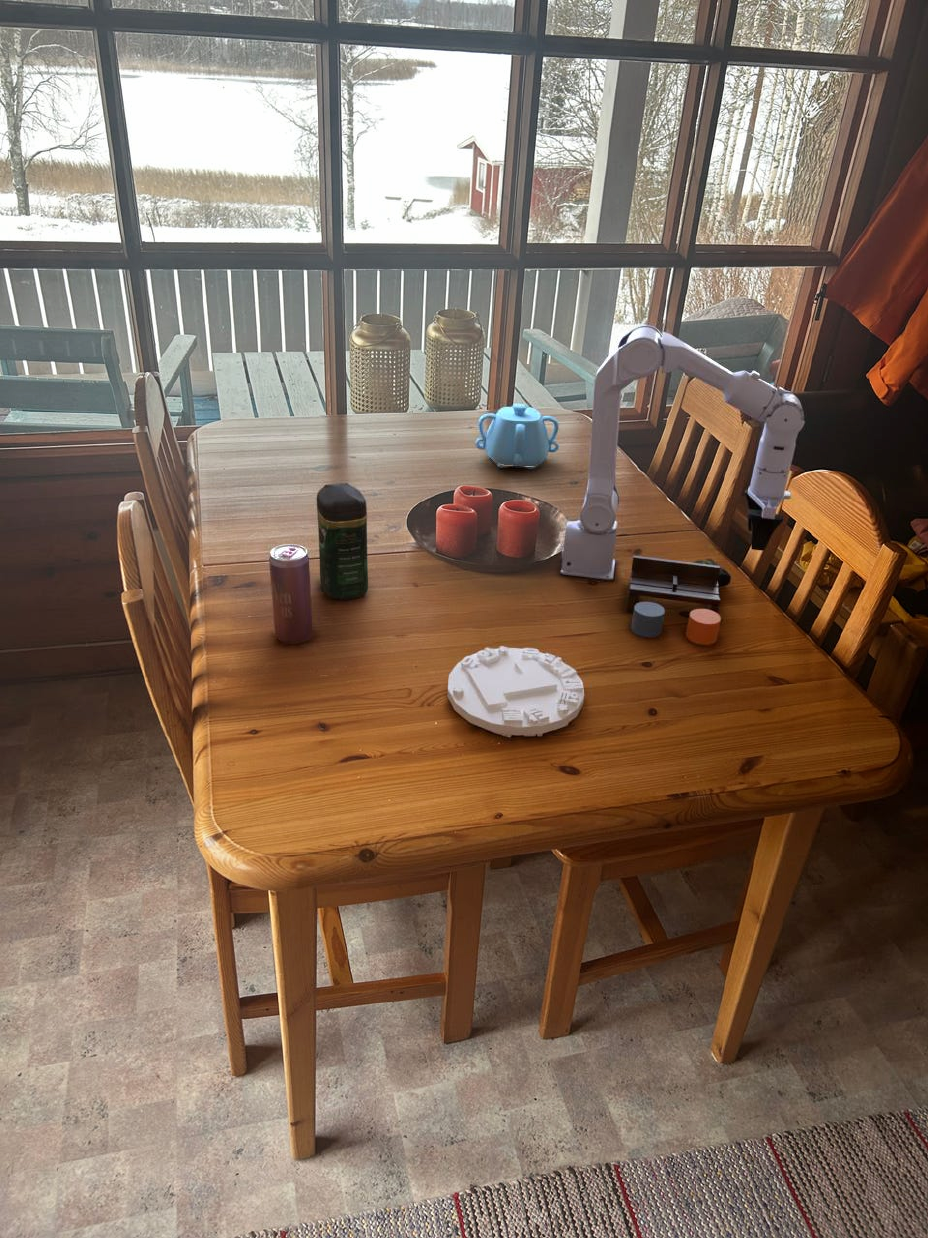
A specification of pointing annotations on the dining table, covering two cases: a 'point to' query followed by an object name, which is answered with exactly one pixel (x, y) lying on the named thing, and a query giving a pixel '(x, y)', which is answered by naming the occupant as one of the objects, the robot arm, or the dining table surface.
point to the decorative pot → (517, 436)
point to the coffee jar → (342, 541)
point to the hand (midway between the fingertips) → (755, 539)
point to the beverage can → (291, 593)
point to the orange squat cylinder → (703, 626)
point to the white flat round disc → (515, 691)
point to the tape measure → (723, 575)
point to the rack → (674, 581)
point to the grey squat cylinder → (647, 619)
